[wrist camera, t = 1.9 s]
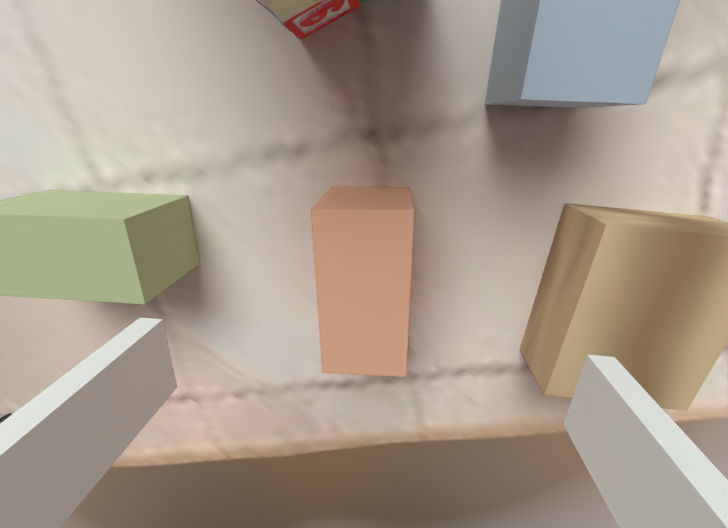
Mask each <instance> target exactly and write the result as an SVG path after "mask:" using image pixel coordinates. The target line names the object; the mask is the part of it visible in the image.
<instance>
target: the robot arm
mask: <svg viewBox="0 0 728 528" xmlns="http://www.w3.org/2000/svg"><path fill="white" fill-rule="evenodd" d="M176 388H177V383H176V379H175V374H174V369H173V365H172V360H171V356H170V351H169V347H168V342H167V337H166V333H165V328H164V324H163V319H152V318H139V319H137V320H136V321H135V322H133V323H132V324H131V325H129V326H128V327H127V328H125V329H124V330H123V331H122V332H120V333H119V334H118V335H116V336H115V337H114V338H112V339H111V340H110V341H108V342H107V343H106V344H104V345H103V346H102V347H100V348H99V349H98V350H97V351H95V352H94V353H93V354H91V355H90V356H89V357H87V358H86V359H85V360H83V361H82V362H81V363H79V364H78V365H77V366H75V367H74V368H73V369H71V370H70V371H69V372H68V373H66V374H65V375H64V376H62V377H61V378H60V379H58V380H57V381H56V382H54V383H53V384H52V385H50V386H49V387H48V388H46V389H45V390H44V391H42V392H41V393H40V394H39V395H37V396H36V397H35V398H33V399H32V400H31V401H29V402H28V403H27V404H25V405H24V406H23V407H21V408H20V409H19V410H17V411H16V412H15V413H13V414H10V413H9V414H7V415H5V416H3V417H2V418H0V528H60V527H61V526H62V525H63V523H64V522H65V521H66V520H67V519H68V517H69V516H70V515H71V514H72V513H73V511H74V510H75V509H76V508H77V507H78V505H79V504H80V503H81V502H82V501H83V499H84V498H85V497H86V496H87V495H88V493H89V492H90V491H91V490H92V488H93V487H94V486H95V485H96V484H97V482H98V481H99V480H100V479H101V478H102V476H103V475H104V474H105V473H106V472H107V470H108V469H109V468H110V467H111V466H112V465H113V463H114V462H115V461H116V460H117V459H118V457H119V456H120V455H121V454H122V453H123V451H124V450H125V449H126V448H127V447H128V445H129V444H130V443H131V442H132V441H133V439H134V438H135V437H136V436H137V435H138V433H139V432H140V431H141V430H142V429H143V427H144V426H145V425H146V424H147V423H148V421H149V420H150V419H151V418H152V417H153V415H154V414H155V413H156V412H157V411H158V409H159V408H160V407H161V406H162V405H163V403H164V402H165V401H166V400H167V399H168V397H169V396H170V395H171V394H172V393H173V391H174V390H175V389H176ZM563 425H564V427H565V428H566V430H567V432H568V434H569V436H570V437H571V440H572V441H573V443H574V445H575V447H576V449H577V451H578V452H579V454H580V456H581V458H582V460H583V462H584V463H585V465H586V467H587V469H588V471H589V473H590V474H591V476H592V478H593V480H594V482H595V484H596V485H597V487H598V489H599V491H600V493H601V495H602V497H603V498H604V500H605V502H606V504H607V506H608V508H609V509H610V511H611V513H612V515H613V517H614V518H615V520H616V522H617V524H618V526H619V528H728V480H727V479H726V478H725V477H724V476H723V475H722V474H721V473H720V472H719V471H718V469H716V467H715V466H714V465H713V464H712V463H711V462H710V461H709V460H708V458H707V457H706V456H705V455H704V454H703V453H702V452H701V451H700V450H699V449H698V448H697V446H695V444H694V443H693V442H692V441H691V440H690V439H689V438H688V437H687V436H686V434H685V433H684V432H683V431H682V430H681V429H680V428H679V427H678V426H677V425H676V424H675V422H674V421H673V420H672V419H671V418H670V417H669V416H668V415H667V414H666V413H665V412H664V410H663V409H662V408H661V407H660V406H659V405H658V404H657V403H656V402H655V401H654V400H653V398H652V397H651V396H650V395H649V394H648V393H647V392H646V391H645V390H644V389H643V388H642V386H641V385H640V384H639V383H638V382H637V381H636V380H635V379H634V378H633V377H632V376H631V374H630V373H629V372H628V371H627V370H626V369H625V368H624V367H623V366H622V365H621V364H620V362H619V361H618V360H617V359H616V358H615V357H609V356H597V355H587V357H586V360H585V363H584V366H583V369H582V372H581V374H580V377H579V380H578V383H577V386H576V389H575V392H574V395H573V398H572V401H571V403H570V406H569V409H568V412H567V415H566V418H565V421H564V424H563Z"/></svg>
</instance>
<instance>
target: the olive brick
mask: <svg viewBox="0 0 728 528" xmlns="http://www.w3.org/2000/svg"><path fill="white" fill-rule="evenodd" d="M199 264H200V260H199V255H198V249H197V243H196V238H195V232H194V226H193V221H192V215H191V209H190V204H189V198H188V195H163V194H138V193H112V192H86V191H61V190H47V191H42V192H38V193H33V194H28V195H23V196H18V197H14V198H9V199H4V200H0V296H15V297H31V298H48V299H65V300H81V301H98V302H115V303H131V304H146V303H148V302H149V301H150V300H152V299H153V298H154V297H156V296H157V295H158V294H160V293H161V292H162V291H164V290H165V289H166V288H168V287H169V286H170V285H172V284H173V283H174V282H176V281H177V280H178V279H180V278H181V277H182V276H184V275H185V274H186V273H188V272H189V271H190V270H192V269H193V268H195V267H196V266H197V265H199Z"/></svg>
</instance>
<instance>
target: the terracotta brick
mask: <svg viewBox="0 0 728 528" xmlns="http://www.w3.org/2000/svg"><path fill="white" fill-rule="evenodd" d="M311 215H312V230H313V244H314V259H315V273H316V288H317V302H318V317H319V331H320V346H321V360H322V373H335V374H357V375H378V376H400V377H406V368H407V348H408V327H409V307H410V287H411V266H412V246H413V226H414V207H413V203H412V199H411V194H410V190H409V187H331V188H330V189H329V190H328V191H327V192H326V193H325V194H324V195H323V197H322V198H321V199H320V200H319V201H318V202H317V203H316V204H315V206H314V207H313V208H312V209H311Z"/></svg>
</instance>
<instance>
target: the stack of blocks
mask: <svg viewBox="0 0 728 528" xmlns="http://www.w3.org/2000/svg"><path fill="white" fill-rule="evenodd" d="M256 1H257V2H258V3H259V4H261V5H262V6H263V7H265V8H266V9H267V10H269V11H270V12H271V13H272V14H273V15H274V16H275V17H276V18H277V19H279V21H280V22H281V23H282V24H283V25H284V26H285V27H286V28H287V29H289V30H290V31H291V32H293V33H294V34H295V36H297V37H298V38H299V39H302V38H305V37H306V36H308V35H310V34H311V33H313V32H315V31H317V30H319V29H320V28H322V27H324V26H326V25H327V24H329V23H331V22H333V21H335V20H336V19H338V18H340V17H341V16H343V15H345V14H347V13H348V12H350V11H352V10H354V9H356V8H358V7H359V6H360V5H361V4H362V3H363V2H365V1H367V0H256Z"/></svg>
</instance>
